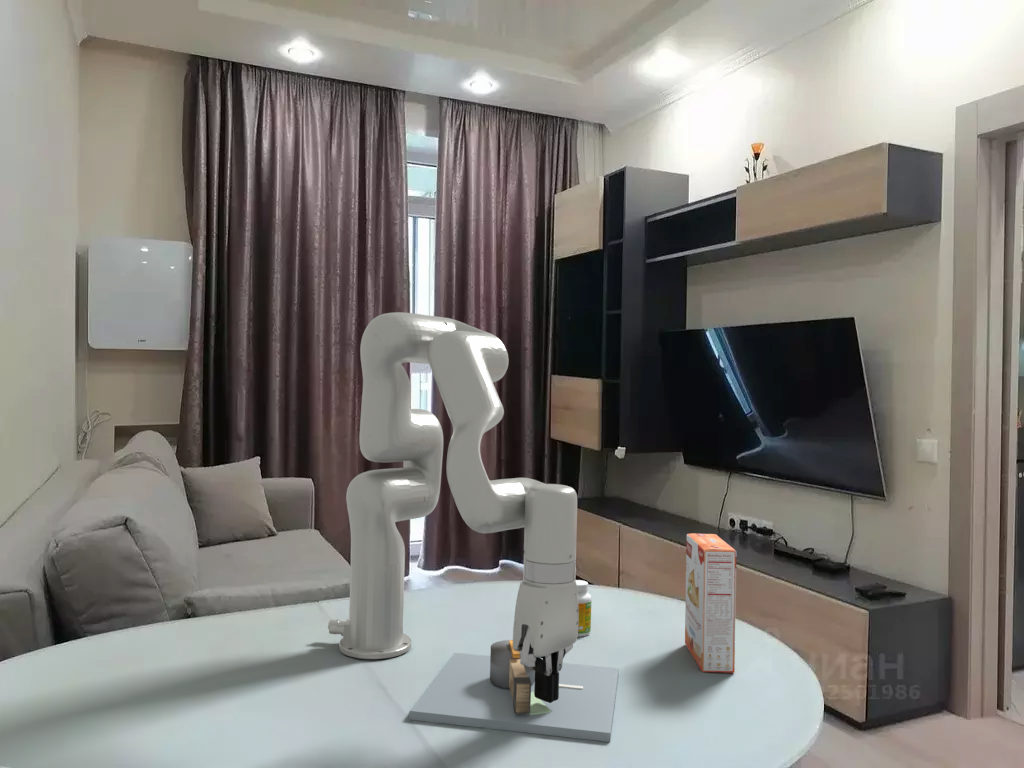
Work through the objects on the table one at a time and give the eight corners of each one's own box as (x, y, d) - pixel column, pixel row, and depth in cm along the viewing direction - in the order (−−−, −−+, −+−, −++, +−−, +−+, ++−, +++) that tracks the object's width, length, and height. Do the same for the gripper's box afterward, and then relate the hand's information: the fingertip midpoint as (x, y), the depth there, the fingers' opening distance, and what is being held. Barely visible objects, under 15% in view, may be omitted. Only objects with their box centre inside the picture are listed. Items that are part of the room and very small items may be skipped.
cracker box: (682, 644, 141) (685, 532, 141) (715, 645, 141) (717, 533, 141) (699, 673, 127) (702, 548, 127) (735, 674, 126) (738, 549, 127)
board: (409, 719, 106) (409, 709, 106) (454, 659, 130) (454, 651, 130) (610, 742, 101) (610, 731, 101) (618, 675, 125) (618, 666, 125)
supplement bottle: (589, 638, 143) (590, 587, 143) (560, 635, 144) (562, 584, 144) (591, 629, 148) (593, 580, 148) (564, 627, 149) (565, 577, 149)
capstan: (488, 671, 121) (489, 636, 121) (531, 670, 122) (532, 636, 122) (497, 716, 104) (498, 675, 104) (547, 715, 105) (548, 675, 105)
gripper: (560, 558, 117) (557, 677, 117) (495, 575, 106) (491, 706, 106) (600, 567, 112) (597, 691, 112) (536, 585, 101) (533, 723, 101)
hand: (546, 698), depth 109 cm, fingers closed
